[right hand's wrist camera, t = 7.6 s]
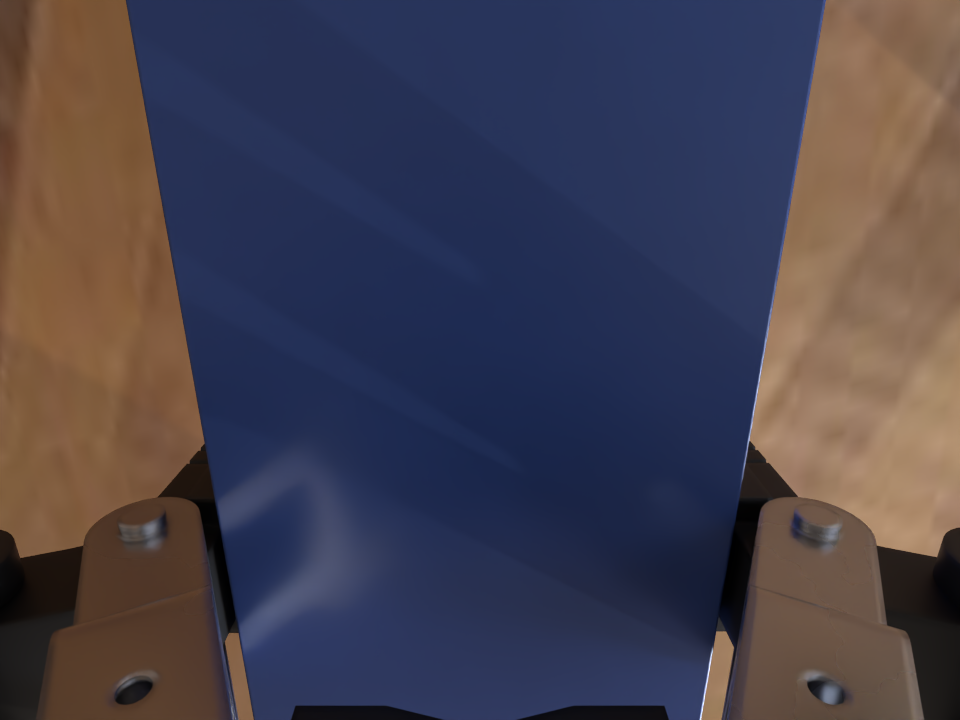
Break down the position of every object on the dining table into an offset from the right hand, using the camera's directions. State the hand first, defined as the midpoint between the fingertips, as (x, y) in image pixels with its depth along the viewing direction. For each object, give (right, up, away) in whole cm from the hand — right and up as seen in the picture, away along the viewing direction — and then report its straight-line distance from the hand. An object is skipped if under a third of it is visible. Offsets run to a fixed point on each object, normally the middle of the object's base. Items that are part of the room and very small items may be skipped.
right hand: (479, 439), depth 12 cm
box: (0, +11, +3) cm, 11 cm away
